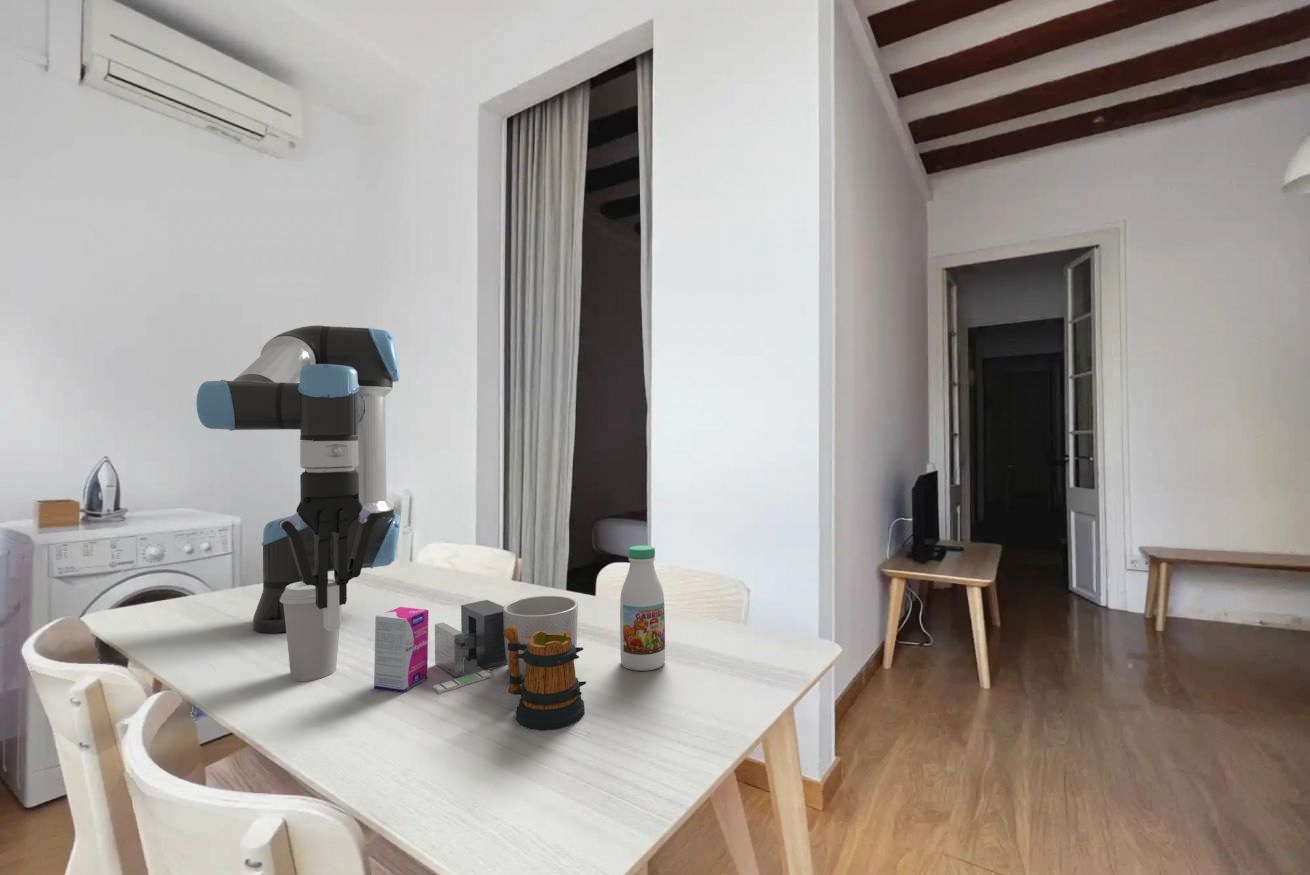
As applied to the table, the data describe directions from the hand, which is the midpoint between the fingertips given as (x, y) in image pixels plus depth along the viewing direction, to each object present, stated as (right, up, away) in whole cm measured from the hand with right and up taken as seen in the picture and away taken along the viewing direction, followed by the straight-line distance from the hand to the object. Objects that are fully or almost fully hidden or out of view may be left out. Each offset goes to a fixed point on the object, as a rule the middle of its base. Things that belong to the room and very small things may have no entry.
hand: (331, 627), depth 84 cm
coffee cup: (-9, -12, +11) cm, 18 cm away
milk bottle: (+46, -11, +13) cm, 49 cm away
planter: (+29, -11, +11) cm, 33 cm away
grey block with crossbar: (+18, -11, +14) cm, 25 cm away
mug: (+32, -11, -4) cm, 34 cm away
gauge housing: (+18, -11, +16) cm, 27 cm away
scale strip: (+18, -11, +7) cm, 22 cm away
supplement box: (+8, -11, +6) cm, 15 cm away
